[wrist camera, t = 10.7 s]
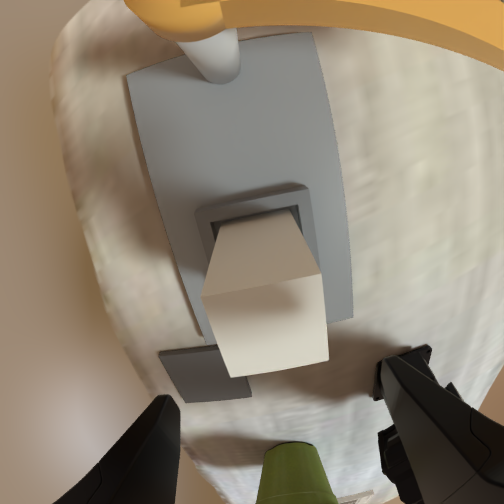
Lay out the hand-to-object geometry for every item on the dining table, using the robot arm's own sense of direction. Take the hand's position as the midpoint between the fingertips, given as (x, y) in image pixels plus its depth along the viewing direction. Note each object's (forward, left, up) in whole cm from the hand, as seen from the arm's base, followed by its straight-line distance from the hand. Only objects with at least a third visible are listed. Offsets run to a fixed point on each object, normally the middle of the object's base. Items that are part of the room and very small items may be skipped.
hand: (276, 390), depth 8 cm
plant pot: (-31, +2, -13) cm, 34 cm away
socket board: (+3, 0, -13) cm, 13 cm away
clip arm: (+11, -7, -3) cm, 13 cm away
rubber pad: (-12, +7, -13) cm, 19 cm away
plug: (0, 0, -12) cm, 12 cm away
